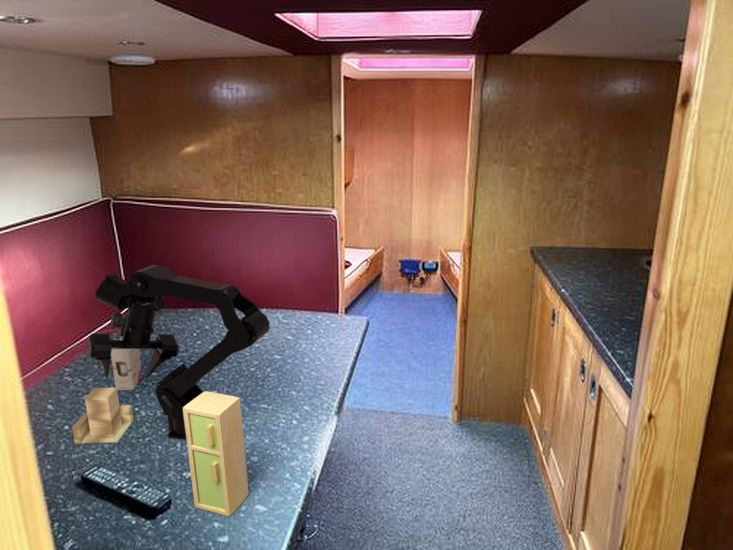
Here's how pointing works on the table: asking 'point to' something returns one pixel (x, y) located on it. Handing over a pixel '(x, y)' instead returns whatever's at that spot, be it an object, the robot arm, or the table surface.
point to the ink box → (126, 368)
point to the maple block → (103, 412)
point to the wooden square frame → (84, 436)
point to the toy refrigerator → (216, 452)
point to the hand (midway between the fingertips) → (127, 375)
